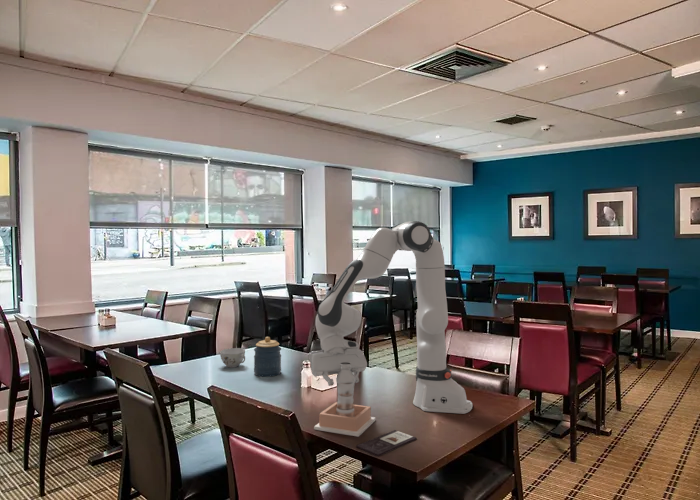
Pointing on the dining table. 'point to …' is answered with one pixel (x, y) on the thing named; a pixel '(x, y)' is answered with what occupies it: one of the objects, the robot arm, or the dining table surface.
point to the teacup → (233, 356)
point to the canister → (267, 358)
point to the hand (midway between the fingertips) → (344, 383)
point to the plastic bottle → (345, 391)
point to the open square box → (345, 421)
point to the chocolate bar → (386, 443)
